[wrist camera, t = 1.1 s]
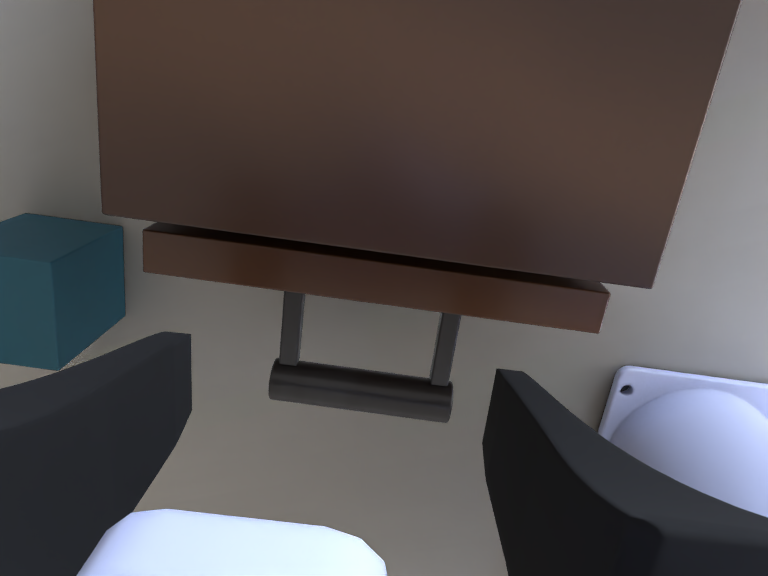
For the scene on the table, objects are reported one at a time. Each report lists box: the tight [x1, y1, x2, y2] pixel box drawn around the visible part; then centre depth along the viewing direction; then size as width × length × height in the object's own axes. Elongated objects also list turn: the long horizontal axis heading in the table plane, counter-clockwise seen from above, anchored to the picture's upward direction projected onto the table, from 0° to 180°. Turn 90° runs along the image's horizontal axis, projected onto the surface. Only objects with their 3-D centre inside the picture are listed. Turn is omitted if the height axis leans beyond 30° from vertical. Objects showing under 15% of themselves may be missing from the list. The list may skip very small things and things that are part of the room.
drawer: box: [143, 222, 610, 423], centre depth 17 cm, size 18×12×7 cm
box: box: [0, 213, 125, 371], centre depth 22 cm, size 4×4×5 cm
